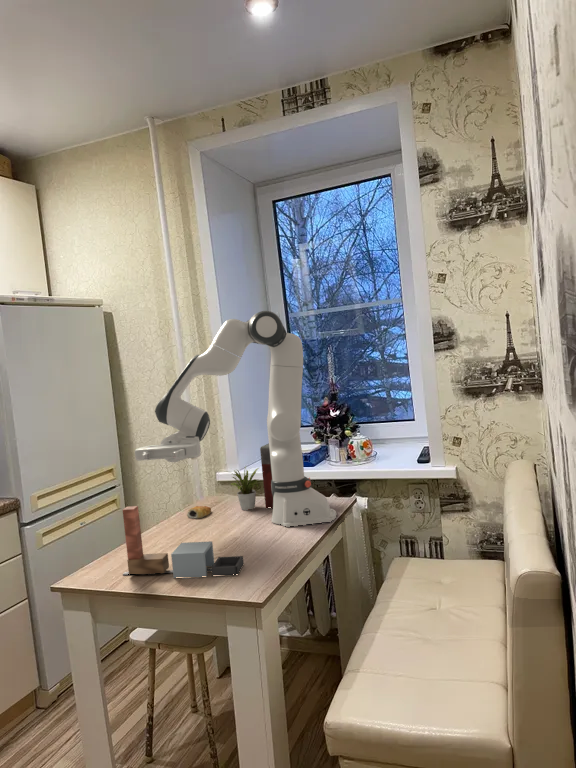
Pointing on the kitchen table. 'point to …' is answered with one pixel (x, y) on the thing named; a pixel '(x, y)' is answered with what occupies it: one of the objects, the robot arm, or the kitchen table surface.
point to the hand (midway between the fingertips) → (159, 456)
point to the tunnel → (192, 559)
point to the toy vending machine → (267, 475)
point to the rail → (164, 572)
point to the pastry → (199, 512)
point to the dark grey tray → (227, 565)
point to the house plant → (246, 490)
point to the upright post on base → (140, 547)
